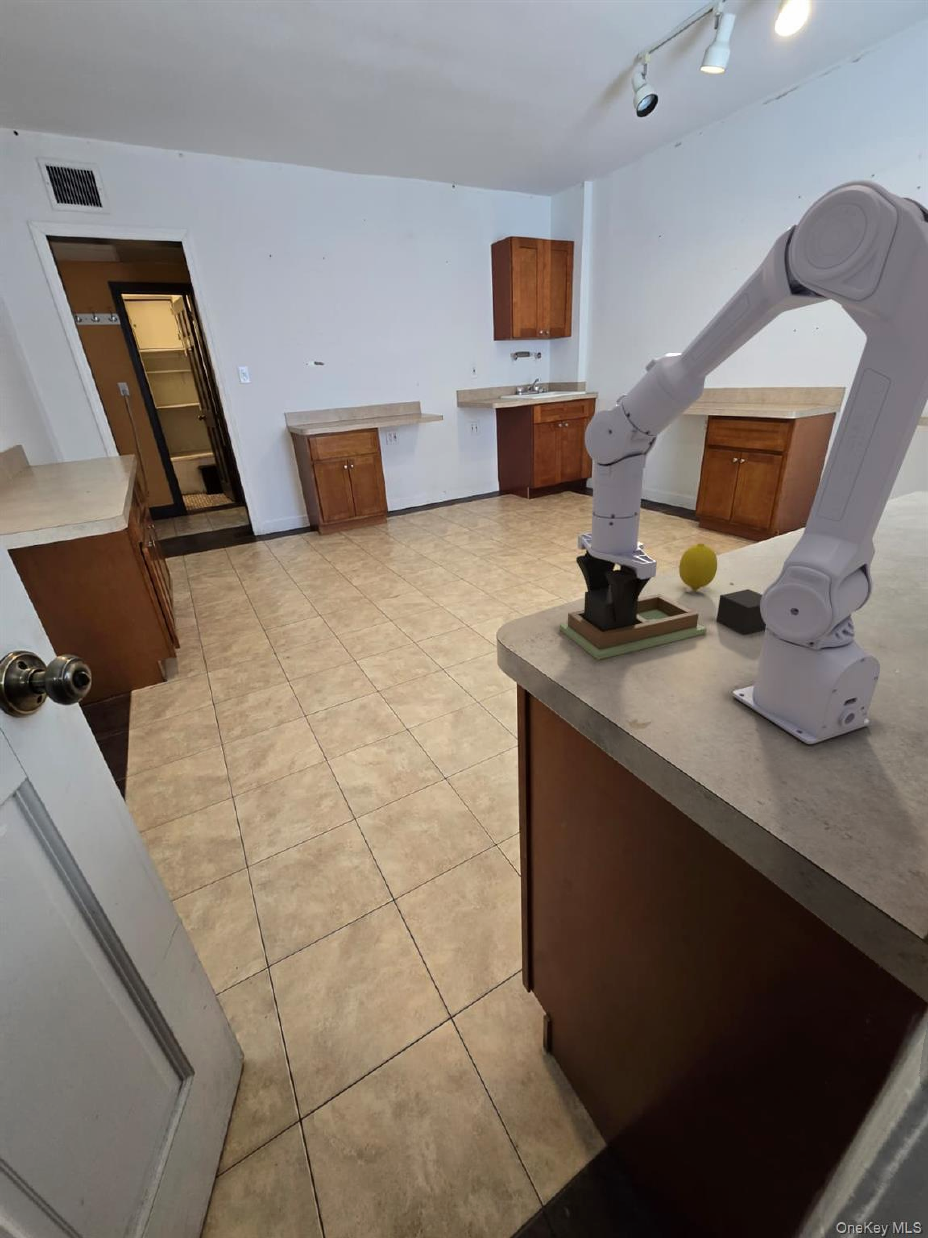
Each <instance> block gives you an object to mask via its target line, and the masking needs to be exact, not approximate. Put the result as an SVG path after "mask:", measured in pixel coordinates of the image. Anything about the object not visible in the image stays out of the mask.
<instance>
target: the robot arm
mask: <svg viewBox="0 0 928 1238" xmlns="http://www.w3.org/2000/svg"><path fill="white" fill-rule="evenodd" d="M830 300H832V301H833V302H836V303H837V304H839V305H840V306H841V308H842V309H843V310H844V312H846V313H847V315H848V316H849V317H850V318H851V319H852V321H854V322H855V324H856V326H857V327H859V329H860V330H861V331H862V332H863V334H864V335H865V337H866V340H865V343H864V347H863V350H862V353H861V357H860V360H859V362H858V365H857V369H856V372H855V375H854V377H853V381H852V383H851V387H850V389H849V393H848V395H847V399H846V402H845V405H844V408H843V411H842V414H841V417H840V420H839V423H838V426H837V429H836V433H835V436H834V439H833V442H832V445H831V447H830V451H829V454H828V457H827V460H826V462H825V466H824V469H823V472H822V476H821V478H820V481H819V485H818V486H817V487H818V488H817V490H816V493H815V496H814V500H813V503H812V506H811V509H810V511H809V515H808V518H807V521H806V524H805V527H804V530H803V533H802V535H801V537H800V538H799V540H798V541H797V542H796V544H795V546H794V547H793V548H792V550H791V551H790V553H789V554H788V555H787V557H786V559H785V560H784V561H783V565H782V568H781V571H780V573H779V575H778V577H777V578H776V579H775V580H774V581H773V582H772V583H771V584H769V586H767V588H766V589H765V590H764V592H763V593H762V598H761V601H760V612H761V615H762V618H763V620H764V622H765V624H766V629H765V630H764V635H763V639H762V644H761V650H760V654H759V658H758V659H759V660H758V664H757V669H756V674H755V679H754V684H753V685H750V686H746V687H743V688H739V689H736V690H734V691H732V697H734V698H735V699H737V701H740V702H741V703H743V704H744V705H746V706H747V707H749V708H751V709H752V710H753V711H755V712H757V713H758V714H760V715H761V716H763V717H765V718H766V719H768V720H769V721H770V722H773V723H774V724H776V725H777V726H779V727H780V728H781V729H783V730H785V731H786V732H788V733H789V734H791V735H792V736H794V737H796V738H797V739H799V740H800V741H802V742H803V743H804V744H807V745H814V744H817V743H820V742H823V741H826V740H829V739H831V738H835V737H837V736H840V735H843V734H847V733H850V732H852V731H855V730H858V729H862V728H864V727H867V726H869V724H870V720H869V719H868V718H867V715H868V712H869V708H870V706H871V702H872V699H873V696H874V694H875V693H874V692H875V690H876V687H877V684H878V681H879V677H880V672H881V666H880V662H879V660H878V659H877V658H876V657H875V656H873V655H871V654H869V652H867V651H865V650H864V649H863V648H862V647H861V646H860V645H859V644H858V643H857V642H856V640H855V634H856V631H855V626H854V623H853V622H854V621H853V619H852V614H853V613H855V612H857V611H859V610H861V609H862V608H863V607H864V606H865V605H866V604H867V603H868V602H869V600H870V598H871V595H872V593H873V579H872V575H871V565H872V561H873V559H874V556H875V554H876V548H875V545H874V542H873V538H874V536H875V533H876V530H877V528H878V526H879V523H880V520H881V518H882V516H883V513H884V510H885V508H886V505H887V504H888V500H889V498H890V496H891V493H892V491H893V488H894V486H895V483H896V481H897V479H898V478H897V477H898V476H899V473H900V470H901V468H902V465H903V462H904V460H905V458H906V455H907V452H908V450H909V447H910V445H911V443H912V440H913V437H914V435H915V432H916V430H917V427H918V425H919V422H920V419H921V418H922V415H923V412H924V410H925V407H926V405H927V402H928V208H926V207H925V206H924V205H923V204H921V203H920V202H919V201H917V200H915V199H912V198H910V197H901V196H899V195H897V194H894V193H892V192H890V191H889V190H888V189H886V188H885V187H884V186H882V185H880V184H878V183H877V182H874V181H871V180H867V179H866V180H865V179H861V180H860V179H858V180H856V179H855V180H850V181H846V182H844V183H841V184H839V185H836V186H835V187H833V188H831V189H829V190H828V191H826V192H825V193H824V194H823V195H821V196H820V197H819V198H817V199H816V200H815V201H814V202H813V203H812V204H811V205H810V206H809V207H808V209H807V210H806V212H804V214H803V215H802V217H801V218H800V220H799V222H798V223H797V224H792V225H791V226H790V227H789V228H788V229H786V230H785V231H783V233H782V234H780V235H779V236H778V237H777V239H776V240H775V241H774V243H773V245H772V247H771V248H770V249H769V251H768V253H767V254H766V256H765V257H764V259H763V261H762V262H761V264H760V265H759V266H758V267H757V268H756V270H755V271H754V272H752V274H751V275H750V276H749V277H748V278H747V280H745V282H744V283H743V284H742V285H741V286H740V287H739V288H738V289H737V291H735V293H734V294H733V295H732V296H731V298H729V300H728V301H727V302H726V303H725V304H724V305H723V306H722V307H721V308H720V310H719V311H718V312H717V313H716V314H715V315H714V316H713V317H712V318H711V320H710V321H709V322H708V323H707V325H706V326H705V327H703V329H702V330H701V331H700V332H699V333H698V334H697V336H696V337H695V338H694V339H693V340H692V341H691V342H690V343H689V344H688V346H686V347H685V349H684V350H683V351H682V352H681V353H666V354H663V356H661V357H660V358H652V359H651V360H650V361H649V362H648V363H647V365H646V366H645V370H646V371H647V372H646V373H645V374H644V375H643V376H642V377H641V378H640V379H639V380H638V382H636V384H635V385H634V386H633V387H632V388H631V389H630V390H629V391H628V392H627V393H624V394H621V395H620V396H619V397H618V398H617V399H616V404H615V406H614V407H613V408H612V409H604V410H599V411H597V412H595V413H594V414H593V416H592V418H591V420H589V422H588V424H587V426H586V430H585V432H584V446H585V448H586V449H585V450H586V452H587V454H588V456H589V458H591V459H592V460H593V461H594V463H593V483H592V484H593V486H592V487H593V489H592V508H591V509H592V511H591V532H588V533H582V534H578V535H577V549H579V550H581V551H584V550H585V553H584V554H583V555H579V556H577V557H576V558H575V559H576V560H575V562H576V564H577V566H578V567H579V569H580V571H581V573H582V576H583V579H584V582H585V585H586V590H587V591H592V590H597V589H602V588H607V587H610V589H611V594H612V611H613V618H614V621H616V622H621V621H625V620H629V619H630V617H631V614H632V612H633V609H634V606H635V604H636V601H637V599H638V598H640V597H639V596H640V595H641V593H642V591H643V589H644V588H645V587H646V586H647V584H648V582H649V581H650V580H651V579H652V578H656V576H657V564H658V561H657V560H655V559H653V558H651V557H650V556H648V554H647V553H646V552H645V551H644V545H645V544H644V543H643V542H641V541H639V530H640V516H641V504H642V490H643V478H644V469H646V465H647V457H648V455H649V453H650V452H651V451H652V450H653V449H654V447H655V445H656V443H657V438H658V435H660V434H661V433H662V432H663V431H664V430H666V429H667V428H668V427H669V426H670V425H671V424H672V423H673V422H674V421H676V420H677V419H678V418H679V417H680V416H681V415H682V414H684V413H685V412H686V411H687V410H688V409H689V408H691V406H693V405H694V404H695V403H696V402H697V401H698V400H699V399H700V398H701V397H702V395H703V393H704V390H705V389H704V388H705V381H706V378H707V376H708V375H710V374H711V373H712V372H713V371H715V369H717V368H719V366H720V365H721V364H723V363H724V362H725V361H726V360H727V359H729V358H730V357H731V356H732V355H733V354H734V353H736V352H737V351H738V350H739V349H740V348H741V347H743V346H744V345H745V344H746V343H747V342H749V341H750V340H751V339H752V338H754V337H755V336H756V335H757V334H759V333H760V332H761V331H762V330H763V329H764V328H765V327H767V326H768V325H770V323H771V322H773V321H774V320H775V319H776V318H778V317H779V316H780V315H781V314H783V313H785V312H788V311H792V310H796V309H800V308H804V307H808V306H812V305H815V304H820V303H823V302H828V301H830ZM615 566H619V568H618V569H615Z"/></svg>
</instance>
